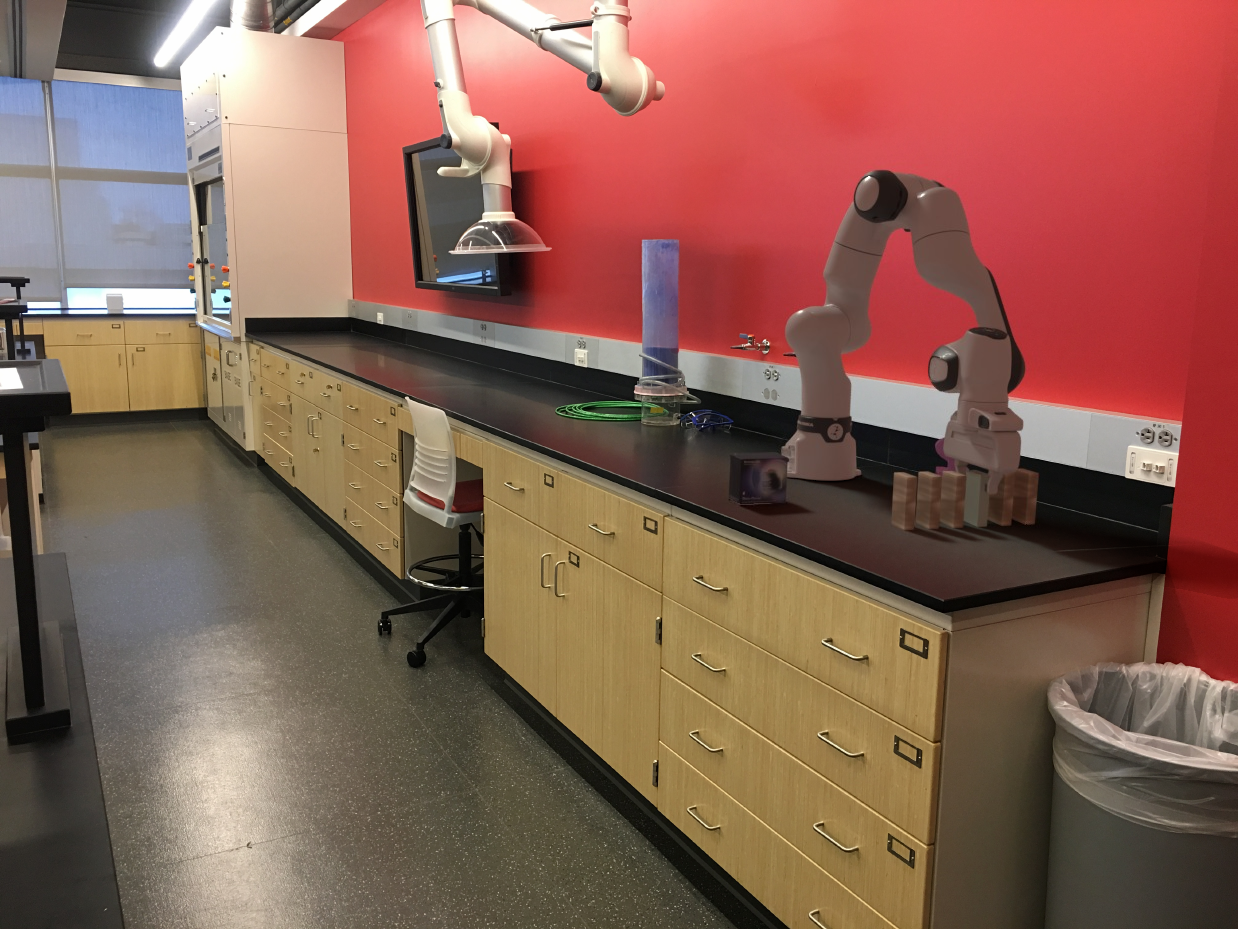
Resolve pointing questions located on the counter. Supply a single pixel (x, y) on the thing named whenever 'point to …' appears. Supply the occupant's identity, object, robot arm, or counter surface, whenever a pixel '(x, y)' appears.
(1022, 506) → the domino
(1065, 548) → the counter surface
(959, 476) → the domino
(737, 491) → the small box
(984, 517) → the domino
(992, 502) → the domino
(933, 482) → the domino
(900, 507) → the domino
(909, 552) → the counter surface
